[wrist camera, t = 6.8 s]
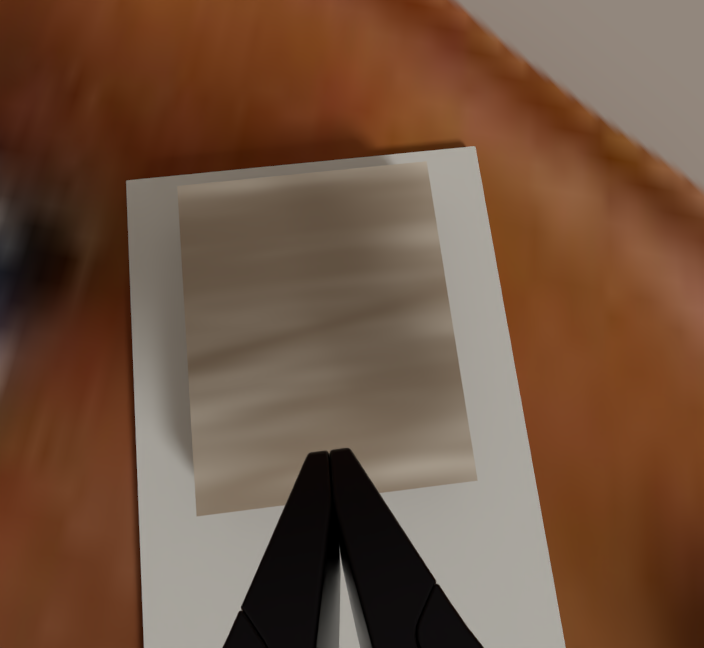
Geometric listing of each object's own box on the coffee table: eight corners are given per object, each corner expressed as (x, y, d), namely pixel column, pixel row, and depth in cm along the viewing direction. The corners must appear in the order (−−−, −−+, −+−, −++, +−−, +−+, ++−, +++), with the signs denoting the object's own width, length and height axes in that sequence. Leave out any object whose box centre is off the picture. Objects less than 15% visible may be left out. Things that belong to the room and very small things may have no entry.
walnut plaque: (477, 480, 15) (426, 161, 17) (196, 516, 14) (177, 185, 16) (458, 473, 17) (415, 194, 19) (216, 504, 17) (197, 216, 19)
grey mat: (563, 665, 17) (570, 672, 16) (153, 725, 16) (147, 734, 16) (471, 152, 20) (475, 145, 20) (131, 186, 19) (126, 180, 19)
